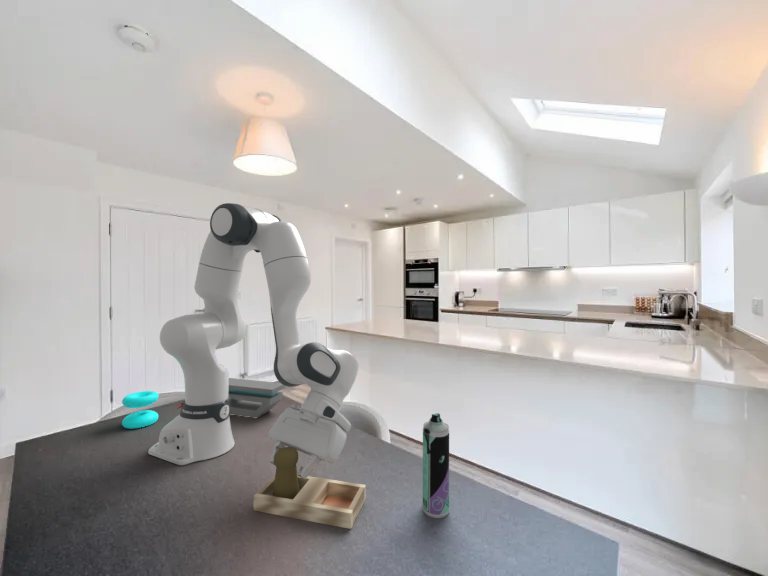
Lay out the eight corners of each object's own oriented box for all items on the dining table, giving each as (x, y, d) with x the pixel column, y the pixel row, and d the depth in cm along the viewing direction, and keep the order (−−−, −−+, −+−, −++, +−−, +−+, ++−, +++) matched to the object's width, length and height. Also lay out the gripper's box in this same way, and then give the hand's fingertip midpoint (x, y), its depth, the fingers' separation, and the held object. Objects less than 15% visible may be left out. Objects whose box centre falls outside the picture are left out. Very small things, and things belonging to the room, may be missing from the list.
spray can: (443, 522, 66) (443, 421, 66) (418, 512, 69) (418, 415, 69) (452, 506, 71) (453, 412, 70) (429, 497, 73) (429, 407, 73)
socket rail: (253, 510, 69) (253, 496, 69) (278, 484, 78) (278, 471, 78) (351, 529, 64) (351, 513, 64) (365, 498, 73) (365, 484, 73)
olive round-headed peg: (292, 511, 69) (292, 458, 69) (265, 507, 70) (266, 455, 70) (305, 493, 75) (305, 444, 75) (280, 490, 76) (280, 442, 76)
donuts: (159, 388, 119) (157, 396, 111) (159, 416, 119) (157, 426, 111) (124, 392, 114) (119, 401, 106) (124, 421, 114) (119, 432, 106)
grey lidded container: (285, 412, 123) (285, 383, 123) (272, 420, 115) (272, 389, 115) (229, 405, 130) (229, 377, 130) (213, 413, 123) (214, 383, 122)
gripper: (283, 397, 85) (248, 451, 77) (344, 414, 73) (311, 480, 65) (296, 409, 88) (265, 462, 80) (357, 427, 77) (327, 491, 69)
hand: (286, 470), depth 73 cm, fingers open, 8 cm apart
